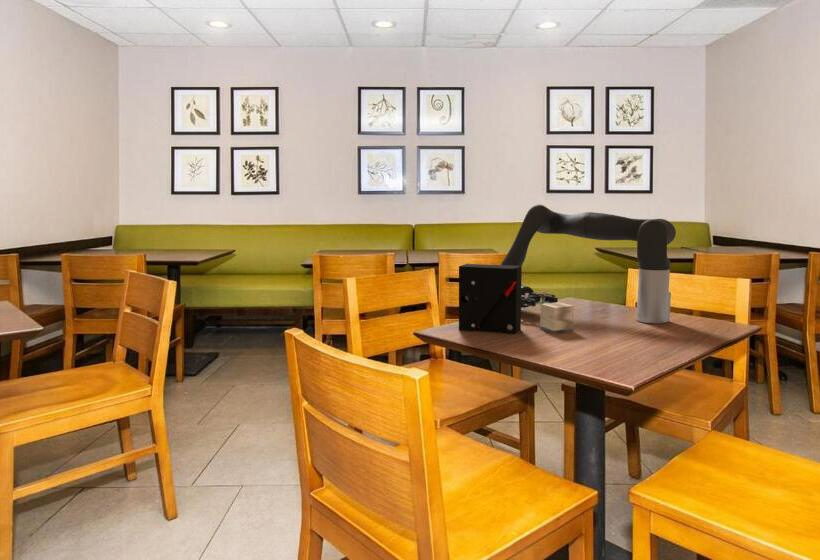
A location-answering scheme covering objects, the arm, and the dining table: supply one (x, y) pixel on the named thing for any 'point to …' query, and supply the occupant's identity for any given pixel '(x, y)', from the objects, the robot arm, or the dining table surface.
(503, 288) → the electrical component
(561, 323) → the birch block
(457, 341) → the dining table surface
